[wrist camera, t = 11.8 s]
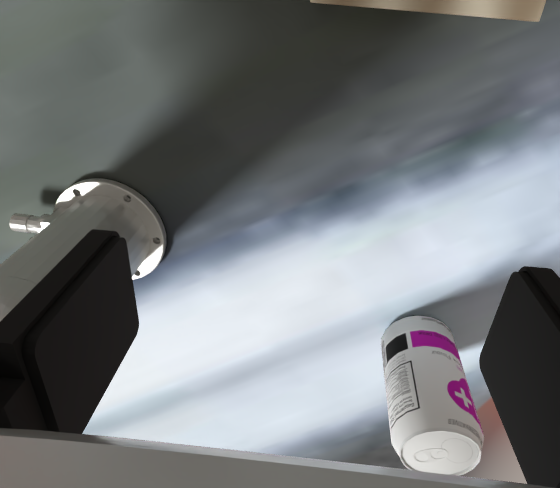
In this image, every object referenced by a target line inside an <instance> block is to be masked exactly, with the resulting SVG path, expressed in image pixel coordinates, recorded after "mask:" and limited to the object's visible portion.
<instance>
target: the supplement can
mask: <svg viewBox="0 0 560 488" xmlns="http://www.w3.org/2000/svg"><path fill="white" fill-rule="evenodd" d="M381 348H382V358H383V367H384V377H385V386H386V396H387V405H388V415H389V424H390V434H391V443H392V445H393V447H394V449H395V450H396V452H397V454H398V455H399V456H400V459H401V461H402V462H403V464H404V466H405V467H407V468H408V469H409V470H413V471H422V472H430V473H439V474H447V475H456V476H459V475H463V474H465V473H467V472H468V471H470V470H472V469H474V468H475V467H476V465H477V464H478V463H479V462H480V458H481V449H482V446H483V441H484V435H483V431H482V428H481V425H480V422H479V419H478V415H477V412H476V409H475V406H474V402H473V399H472V396H471V393H470V389H469V386H468V383H467V380H466V377H465V373H464V370H463V367H462V364H461V360H460V357H459V354H458V351H457V347H456V344H455V341H454V338H453V335H452V333H451V330H450V329H449V328H448V327H447V326H446V325H445V324H444V323H443V322H441V321H439V320H437V319H434V318H432V317H426V316H410V317H405V318H403V319H400V320H398V321H396V322H394V323H393V324H391V325H390V326H389V327H388V328H387V329H386V330H385V332H384V334H383V336H382V338H381Z"/></svg>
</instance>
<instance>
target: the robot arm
mask: <svg viewBox="0 0 560 488" xmlns="http://www.w3.org/2000/svg"><path fill="white" fill-rule="evenodd" d="M10 228H11V229H12V230H13V231H18V232H26V233H32V232H33V233H38V234H36V235H35V236H34V237H32V238H30V239H29V241H28V242H27V243H26V244H24V245H23V246H22V247H21V248H20V249H18V250H17V251H16V252H15V253H14V254H12V255H11V256H10V257H9V258H8V259H6V260H5V261H4V262H3V263H2V264H0V488H560V278H559V277H558V275H557V274H556V273H555V272H554V271H553V270H552V269H548V268H537V267H526V266H525V267H522V268H521V269H520V270H519V272H513V273H512V274H511V276H510V279H509V281H508V284H507V286H506V289H505V292H504V294H503V297H502V299H501V302H500V305H499V307H498V310H497V312H496V315H495V318H494V320H493V323H492V325H491V328H490V331H489V333H488V336H487V339H486V341H485V344H484V346H483V349H482V352H481V354H480V360H479V363H480V369H481V372H482V374H483V377H484V379H485V382H486V384H487V387H488V389H489V391H490V394H491V396H492V399H493V401H494V403H495V406H496V409H497V411H498V413H499V416H500V418H501V420H502V423H503V425H504V428H505V430H506V433H507V435H508V438H509V440H510V443H511V445H512V447H513V450H514V452H515V455H516V457H517V460H518V462H519V464H520V467H521V469H522V471H523V474H524V476H525V479H526V481H527V484H522V483H514V482H505V481H497V480H489V479H481V478H471V477H464V476H456V475H447V474H439V473H430V472H422V471H413V470H405V469H397V468H388V467H379V466H371V465H362V464H353V463H344V462H336V461H327V460H318V459H309V458H300V457H291V456H283V455H274V454H265V453H256V452H247V451H238V450H229V449H220V448H210V447H201V446H192V445H183V444H173V443H164V442H155V441H145V440H136V439H127V438H117V437H108V436H97V435H86V434H82V433H83V431H84V429H85V427H86V426H87V424H88V422H89V420H90V418H91V417H92V415H93V413H94V411H95V409H96V407H97V406H98V404H99V402H100V400H101V398H102V397H103V395H104V393H105V391H106V389H107V388H108V386H109V384H110V382H111V380H112V379H113V377H114V375H115V373H116V371H117V369H118V368H119V366H120V364H121V362H122V360H123V359H124V357H125V355H126V353H127V351H128V350H129V348H130V346H131V344H132V342H133V341H134V339H135V337H136V335H137V332H138V327H139V319H138V313H137V306H136V300H135V293H134V287H133V280H135V279H138V278H141V277H144V276H146V275H147V274H149V273H151V272H152V271H153V270H154V269H155V268H156V267H157V266H158V264H159V263H160V261H161V260H162V258H163V256H164V253H165V250H166V245H167V242H166V232H165V228H164V225H163V222H162V220H161V218H160V216H159V214H158V213H157V211H156V210H155V208H154V207H153V206H152V205H151V204H150V203H149V202H148V200H147V199H146V198H144V197H143V196H142V195H141V194H139V193H138V192H137V191H135V190H134V189H132V188H130V187H128V186H127V185H124V184H122V183H119V182H116V181H113V180H108V179H102V178H91V179H86V180H82V181H79V182H77V183H74V184H73V185H72V186H70V187H69V188H67V189H66V190H65V191H64V192H63V193H62V194H61V195H60V196H59V198H58V199H57V201H56V203H55V207H54V210H53V214H51V215H48V214H44V215H42V216H41V217H36V216H33V215H26V214H17V213H15V214H14V215H12V217H11V219H10Z"/></svg>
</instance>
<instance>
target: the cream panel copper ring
mask: <svg viewBox="0 0 560 488" xmlns="http://www.w3.org/2000/svg"><path fill="white" fill-rule="evenodd" d="M310 2H311V3H322V4H334V5H346V6H358V7H370V8H381V9H393V10H405V11H417V12H428V13H440V14H452V15H464V16H476V17H487V18H499V19H511V20H523V21H534V22H539V20H540V17H541V14H542V11H543V8H544V5H545V2H546V0H310Z"/></svg>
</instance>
